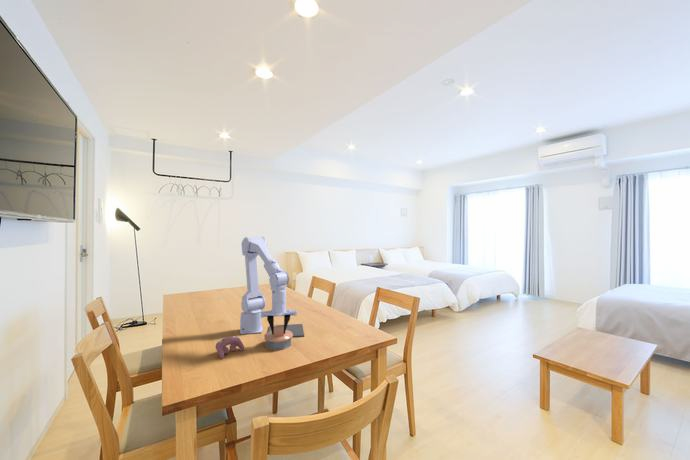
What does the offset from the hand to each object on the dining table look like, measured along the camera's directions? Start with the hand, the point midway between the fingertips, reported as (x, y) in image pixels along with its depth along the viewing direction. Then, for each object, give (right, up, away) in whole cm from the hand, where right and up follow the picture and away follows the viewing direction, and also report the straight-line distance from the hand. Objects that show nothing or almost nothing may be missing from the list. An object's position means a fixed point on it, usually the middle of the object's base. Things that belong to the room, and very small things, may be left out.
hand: (278, 333), depth 120 cm
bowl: (0, -5, 0) cm, 5 cm away
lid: (0, -1, 0) cm, 1 cm away
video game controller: (-17, -5, -8) cm, 20 cm away
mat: (0, -4, +14) cm, 15 cm away
